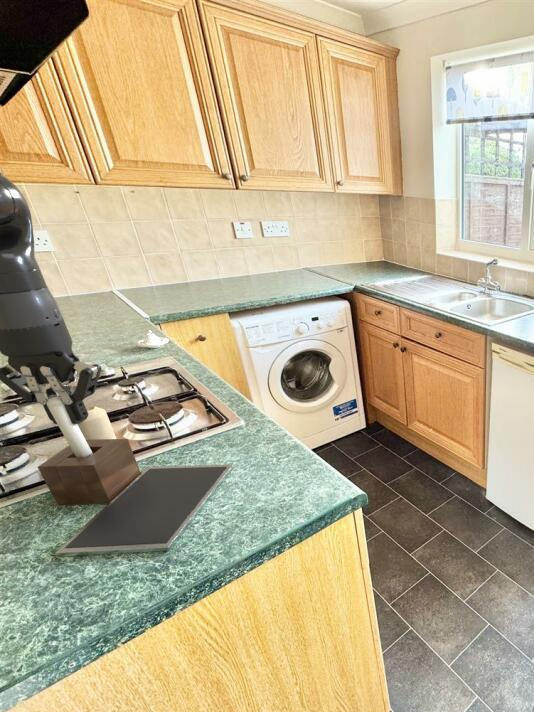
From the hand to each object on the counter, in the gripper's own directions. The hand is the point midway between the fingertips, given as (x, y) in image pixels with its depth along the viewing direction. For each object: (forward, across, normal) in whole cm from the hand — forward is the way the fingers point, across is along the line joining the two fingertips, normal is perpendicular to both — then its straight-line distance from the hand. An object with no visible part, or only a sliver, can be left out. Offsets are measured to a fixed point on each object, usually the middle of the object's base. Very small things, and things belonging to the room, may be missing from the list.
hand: (71, 421), depth 68 cm
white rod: (+11, 0, 0) cm, 11 cm away
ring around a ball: (+14, -33, +72) cm, 81 cm away
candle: (+14, -8, +12) cm, 20 cm away
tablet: (+14, +12, -5) cm, 19 cm away
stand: (+14, 0, 0) cm, 14 cm away
